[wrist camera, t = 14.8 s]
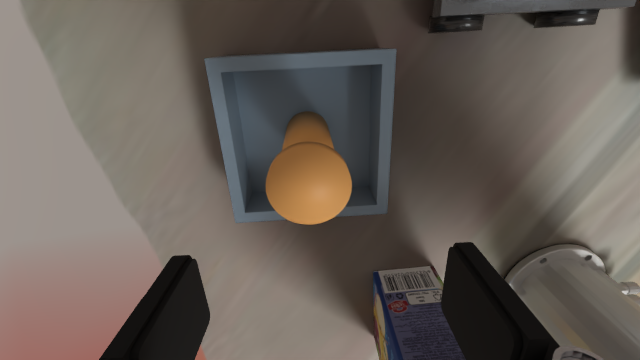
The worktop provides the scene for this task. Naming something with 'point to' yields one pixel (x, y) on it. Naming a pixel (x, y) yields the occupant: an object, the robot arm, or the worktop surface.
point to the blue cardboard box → (411, 316)
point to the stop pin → (308, 173)
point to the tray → (299, 96)
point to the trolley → (549, 3)
